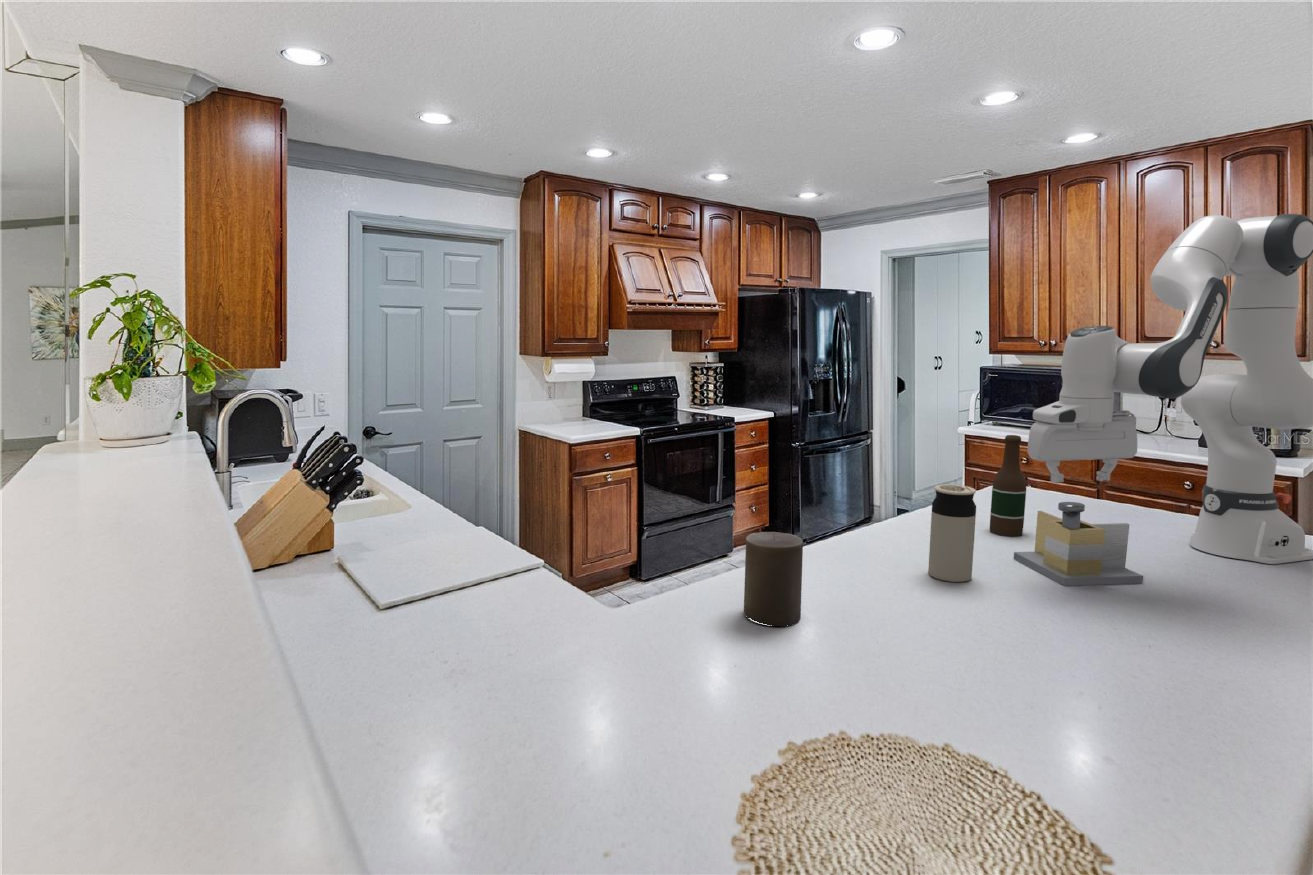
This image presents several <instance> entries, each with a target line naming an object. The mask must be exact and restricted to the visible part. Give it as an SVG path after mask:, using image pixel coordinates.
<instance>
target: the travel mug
mask: <svg viewBox="0 0 1313 875" xmlns="http://www.w3.org/2000/svg"><path fill="white" fill-rule="evenodd" d="M934 491H935V498H934V499H933V501H932V502H931V520H930V534H929V536H930V537H929V538H930V539H929V554H928V569H927V570H928V571H927V572H928V574H929V575H930V576H931V577H933V578H935V579H936V580H940V581H943V582H944V581H945V582H949V583H963V582H967V581H970V580H971V579H972V577H973V576H972V575H973V564H974V563H973V562H974V546H975V532H976V530H975V529H976V518H977V516H976V515H977V505H976V503H975V501H974V497H975V494H976V492H977V490H976V489H975V488H973V487H971V486H968V485H961V484H960V485H959V484H948V483H947V484H939V485H938V484H937V485H935V486H934Z"/></svg>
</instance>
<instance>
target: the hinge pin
mask: <svg viewBox="0 0 1313 875" xmlns="http://www.w3.org/2000/svg"><path fill="white" fill-rule="evenodd" d="M1085 506H1086V505H1085V504H1084V503H1081V502H1077V501H1060V502H1058V507H1057V509H1058V510H1059V511H1061V512H1062V514H1061V515H1062V518H1061V519H1062V525H1064V526H1066V527H1069V528H1071V529H1080V520H1081V513H1082V512H1085V509H1086V508H1085Z"/></svg>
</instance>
